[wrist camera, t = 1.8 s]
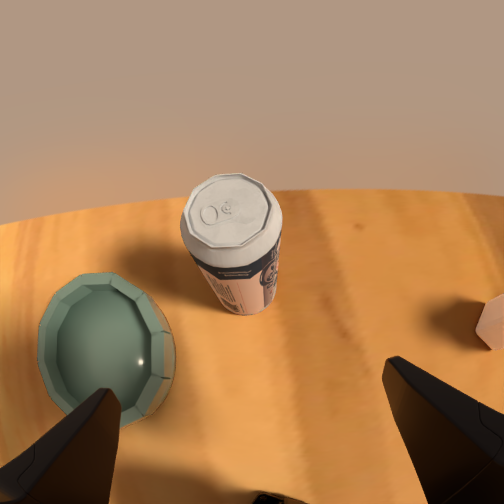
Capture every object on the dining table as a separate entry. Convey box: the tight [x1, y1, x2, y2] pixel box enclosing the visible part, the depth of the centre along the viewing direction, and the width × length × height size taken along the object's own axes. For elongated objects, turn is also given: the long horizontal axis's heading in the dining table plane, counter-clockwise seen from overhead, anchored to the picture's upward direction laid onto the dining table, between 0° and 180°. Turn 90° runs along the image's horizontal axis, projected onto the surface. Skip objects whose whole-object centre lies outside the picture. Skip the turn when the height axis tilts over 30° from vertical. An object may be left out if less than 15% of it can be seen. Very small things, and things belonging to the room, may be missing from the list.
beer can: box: [180, 173, 282, 315], centre depth 18 cm, size 5×5×12 cm
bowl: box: [37, 272, 176, 429], centre depth 20 cm, size 13×13×3 cm
